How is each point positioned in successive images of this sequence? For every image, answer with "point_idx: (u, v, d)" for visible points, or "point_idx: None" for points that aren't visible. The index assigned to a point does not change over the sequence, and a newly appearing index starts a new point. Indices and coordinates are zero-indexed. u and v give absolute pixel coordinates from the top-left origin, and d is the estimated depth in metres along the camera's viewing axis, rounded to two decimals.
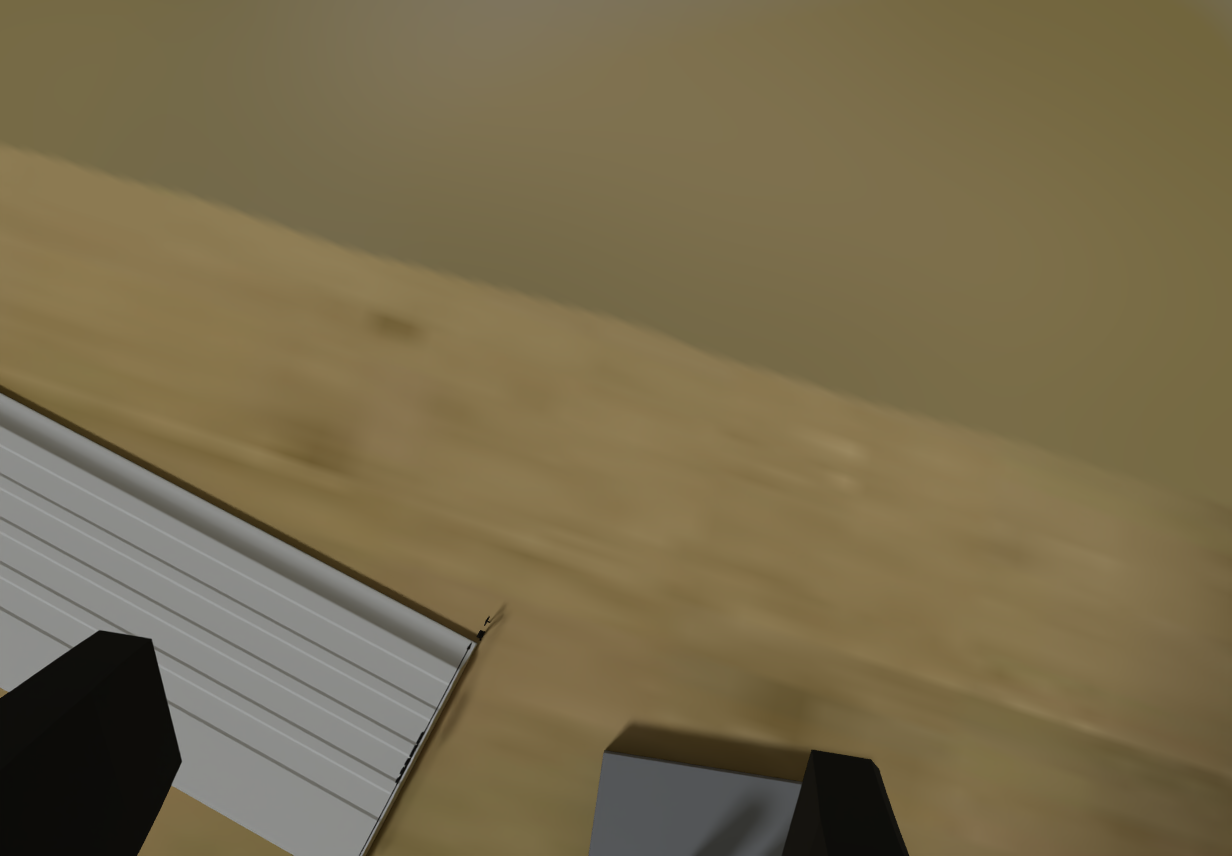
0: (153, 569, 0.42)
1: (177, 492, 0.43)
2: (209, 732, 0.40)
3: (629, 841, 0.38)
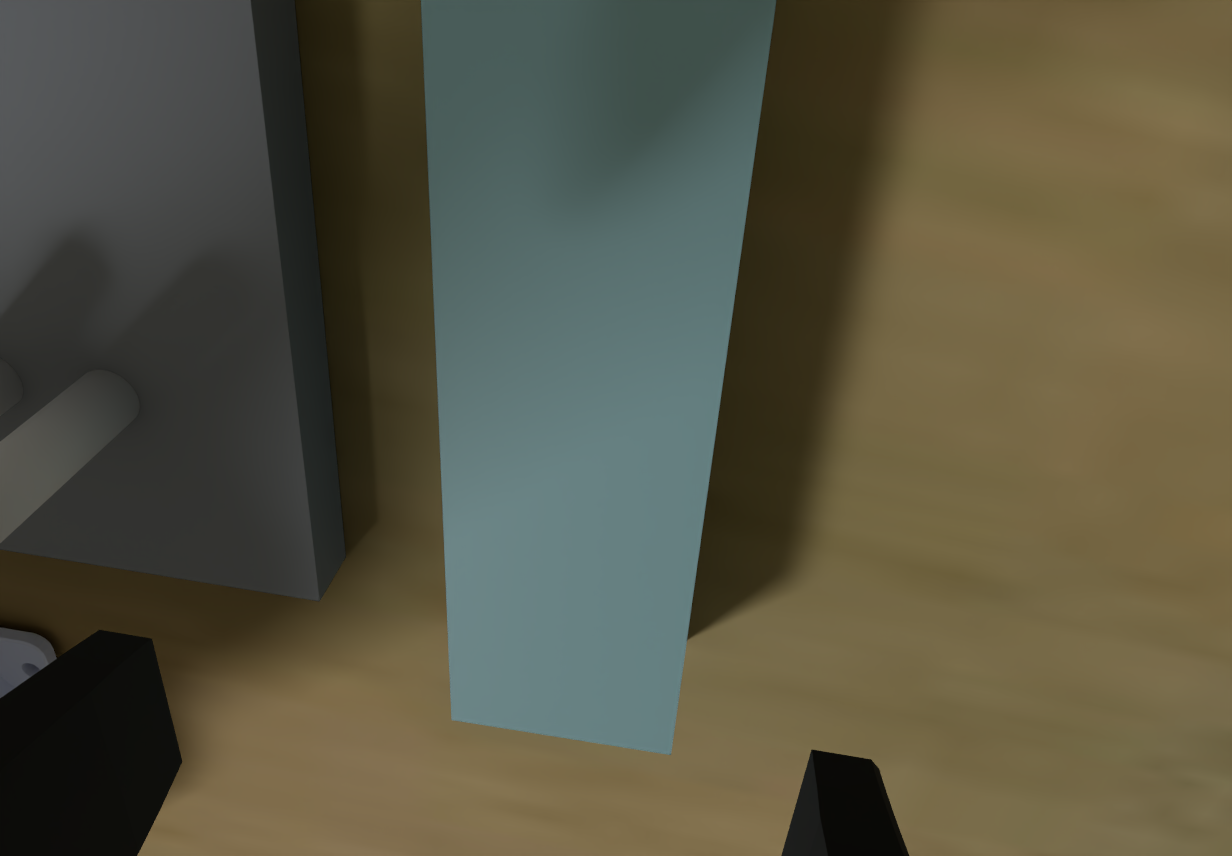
0: None
1: None
2: None
3: None
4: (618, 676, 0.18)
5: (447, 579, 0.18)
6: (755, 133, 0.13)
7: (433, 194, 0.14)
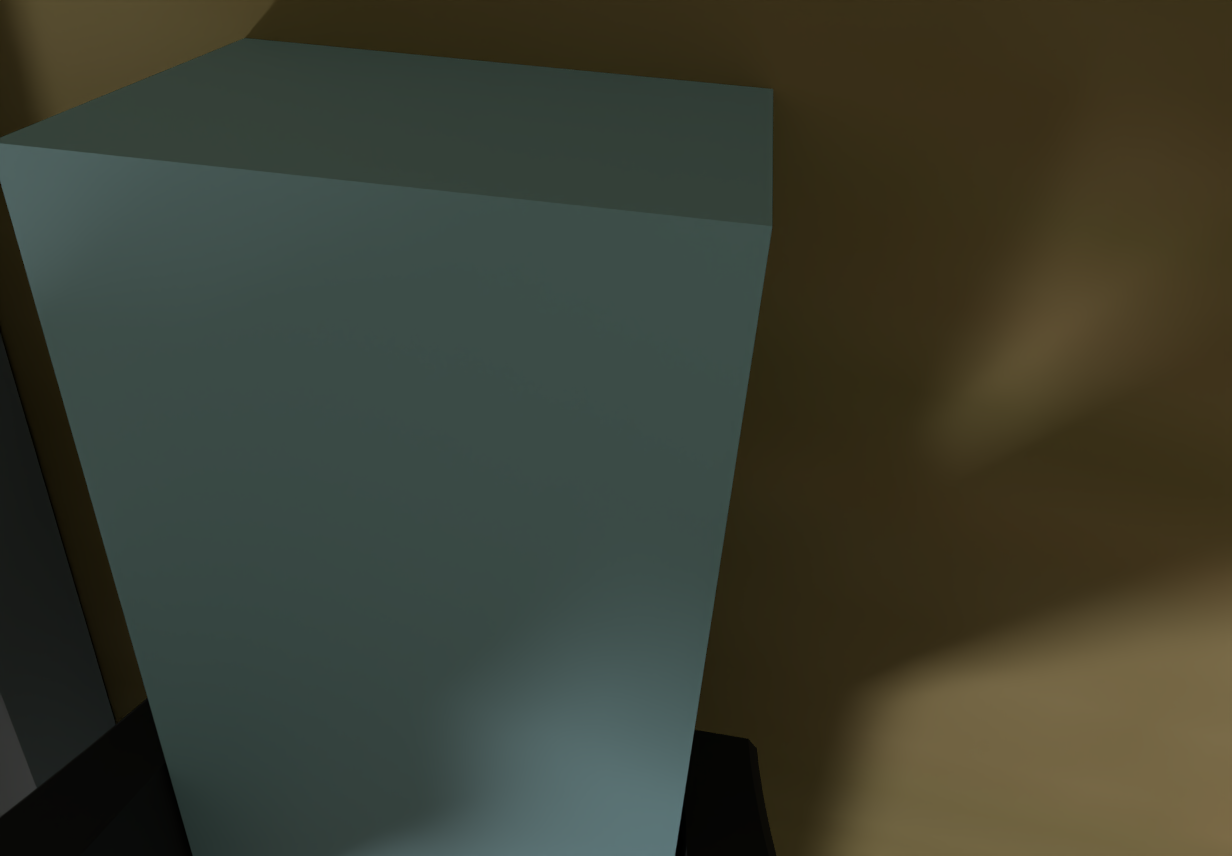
0: None
1: None
2: None
3: None
4: None
5: None
6: (728, 477, 0.06)
7: (110, 544, 0.07)
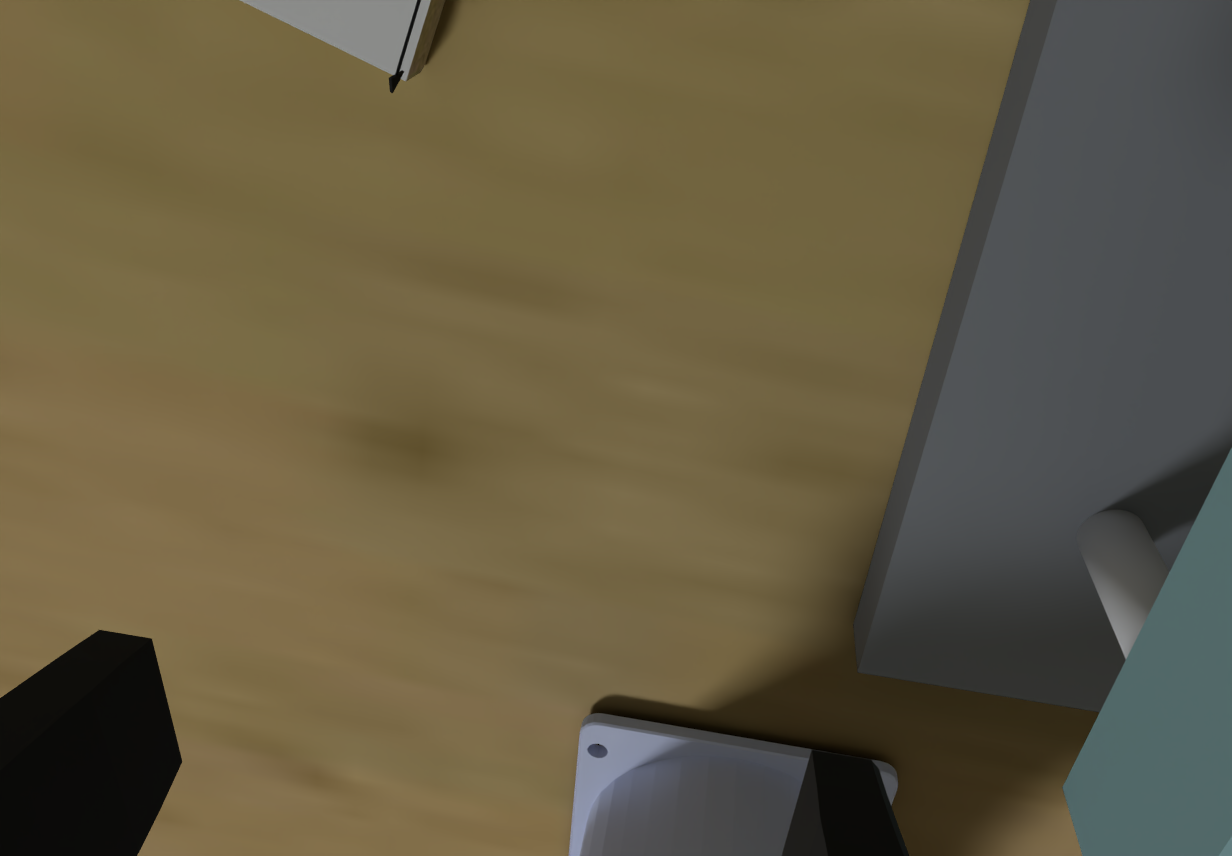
0: None
1: None
2: None
3: None
4: None
5: None
6: None
7: None
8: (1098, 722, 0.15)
